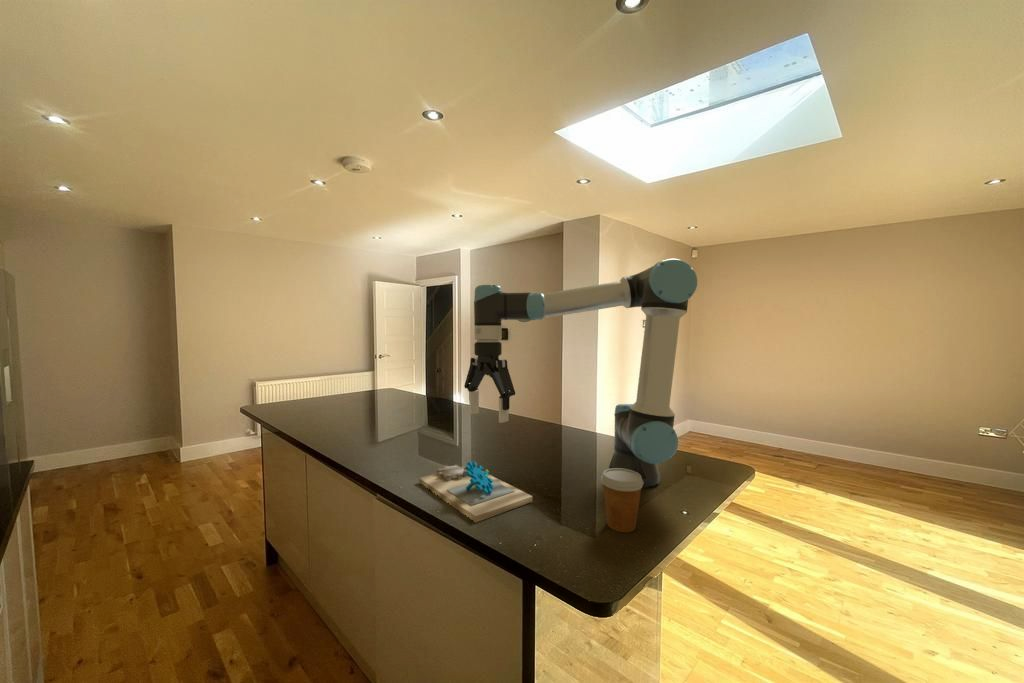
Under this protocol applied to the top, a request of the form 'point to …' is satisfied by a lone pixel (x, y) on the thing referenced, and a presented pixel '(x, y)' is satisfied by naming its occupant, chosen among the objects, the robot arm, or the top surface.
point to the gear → (479, 478)
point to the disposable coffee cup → (621, 498)
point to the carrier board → (474, 493)
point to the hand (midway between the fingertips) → (488, 417)
